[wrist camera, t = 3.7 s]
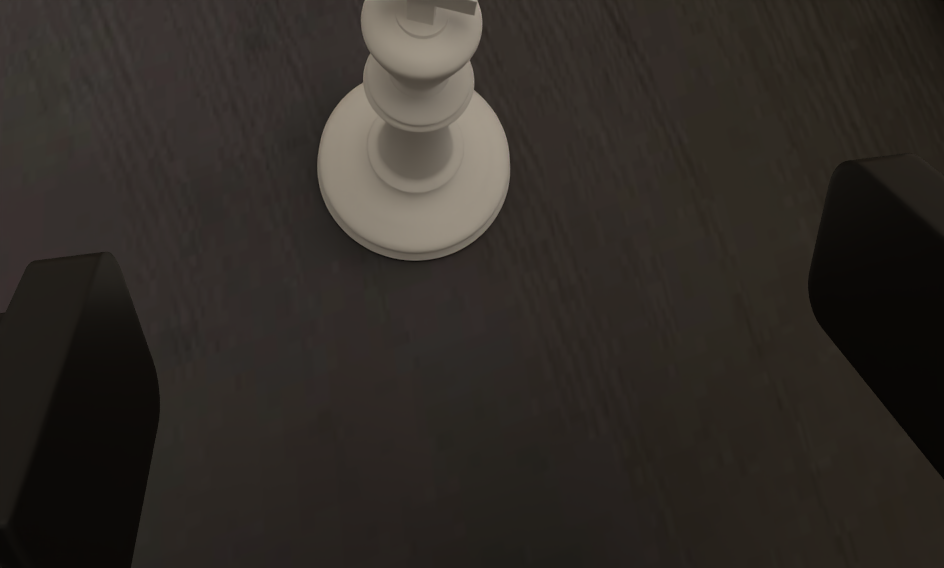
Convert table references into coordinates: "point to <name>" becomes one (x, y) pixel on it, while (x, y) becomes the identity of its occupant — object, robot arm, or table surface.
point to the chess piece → (415, 136)
